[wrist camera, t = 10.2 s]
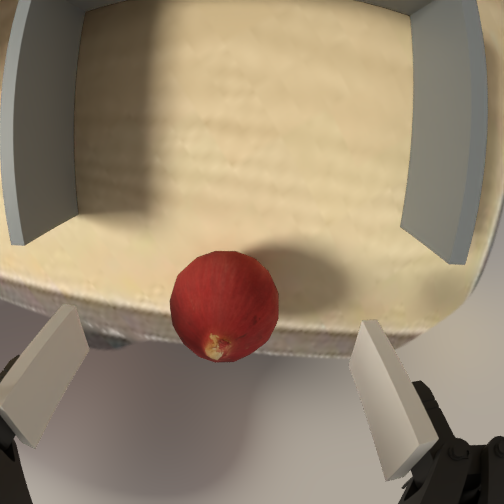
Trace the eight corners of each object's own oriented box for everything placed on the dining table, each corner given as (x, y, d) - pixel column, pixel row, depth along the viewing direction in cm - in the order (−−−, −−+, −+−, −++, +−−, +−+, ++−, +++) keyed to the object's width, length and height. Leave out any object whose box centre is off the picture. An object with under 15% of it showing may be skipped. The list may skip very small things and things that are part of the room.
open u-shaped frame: (65, 214, 18) (11, 244, 12) (74, 3, 12) (26, -22, 6) (414, 228, 18) (464, 264, 12) (423, 8, 12) (471, -21, 6)
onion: (273, 313, 20) (281, 403, 13) (190, 312, 20) (162, 397, 13) (276, 232, 18) (290, 301, 11) (182, 232, 18) (136, 298, 11)
